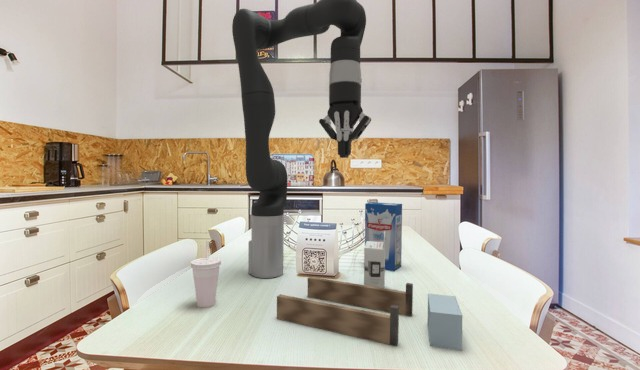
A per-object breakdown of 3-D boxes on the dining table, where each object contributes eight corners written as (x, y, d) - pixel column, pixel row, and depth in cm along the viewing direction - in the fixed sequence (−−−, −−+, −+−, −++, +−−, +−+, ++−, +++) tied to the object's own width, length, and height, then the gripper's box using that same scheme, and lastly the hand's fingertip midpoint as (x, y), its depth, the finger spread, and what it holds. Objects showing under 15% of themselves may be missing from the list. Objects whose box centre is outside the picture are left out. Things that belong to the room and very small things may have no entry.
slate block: (429, 346, 56) (430, 311, 56) (427, 323, 65) (427, 293, 65) (461, 351, 55) (462, 315, 55) (454, 327, 63) (455, 296, 63)
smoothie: (227, 300, 75) (226, 239, 75) (208, 311, 69) (208, 245, 69) (203, 297, 77) (203, 237, 77) (184, 307, 71) (183, 243, 71)
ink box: (365, 285, 87) (366, 229, 87) (384, 286, 86) (385, 229, 86) (363, 296, 79) (363, 234, 78) (384, 298, 78) (385, 235, 77)
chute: (276, 318, 66) (276, 286, 66) (309, 295, 79) (310, 268, 79) (396, 346, 56) (397, 308, 56) (412, 314, 69) (412, 283, 69)
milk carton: (401, 266, 105) (402, 203, 104) (394, 271, 100) (395, 205, 99) (372, 262, 110) (372, 202, 110) (364, 266, 105) (365, 203, 104)
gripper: (312, 83, 78) (312, 157, 78) (367, 76, 72) (366, 156, 72) (326, 90, 85) (325, 158, 85) (376, 85, 79) (375, 158, 79)
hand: (344, 157), depth 79 cm, fingers closed
